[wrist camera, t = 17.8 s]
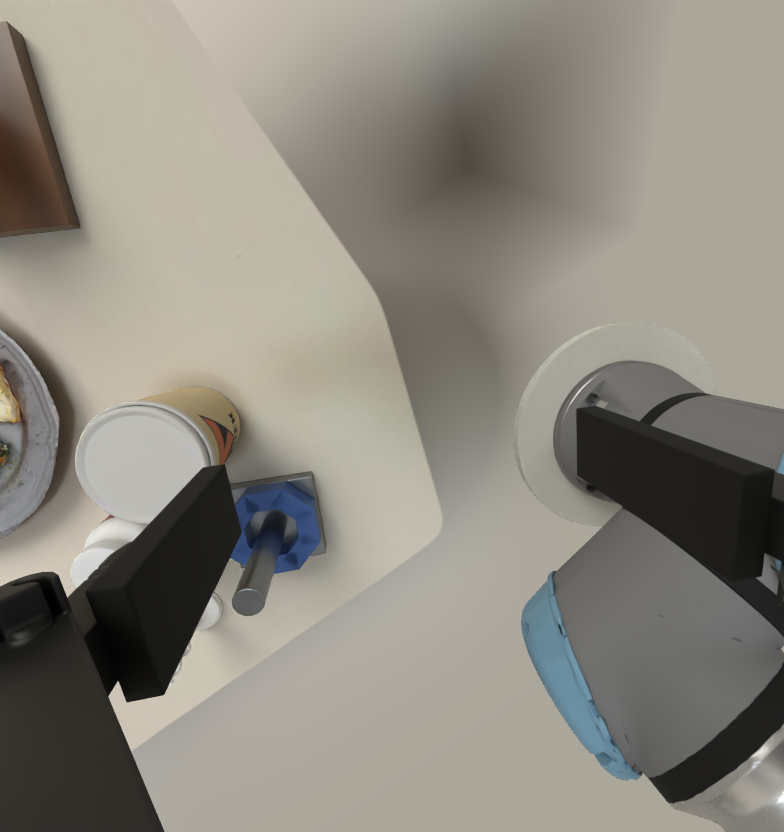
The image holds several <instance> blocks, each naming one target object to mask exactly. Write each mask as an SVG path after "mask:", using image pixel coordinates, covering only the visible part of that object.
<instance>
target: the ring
mask: <svg viewBox="0 0 784 832" xmlns="http://www.w3.org/2000/svg"><path fill="white" fill-rule="evenodd" d="M235 507H236V511H237V515H238V519H239V523H240V527H241V531H242V534H241V536H240V538H239V540H238V542H237V544H236V546H235V548H234V550H233V552H232V555H231V557H230V558H232V559H233V560H235V561H237V562H239V563H241V564H242V565H244V566H246V564H247V561H248V559H249V556H250V554H251V551H252V549H253V546H254V544H255V541H256V538H254V537H253V535H252V531H251V527H250V523H249V521H250V520H251V519H252V517H253V516H254V515H255V513H256V512H262V511H268V510H274V509H278V510H280V511H282V512H283V513H285V514H287V515H288V516H290V517H292V518H293V519H295V520H296V525H297V530H298V534H297V535H296V536H295V537H294V539H293V540H292V541H291V543H289V544H283V545H281V548H280V552H279V555H278V559H277V562H276V566H275V569H274V573H273V574H275V573H280V572H286V571H291V570H297V569H300V567H301V566H302V565H303V564H304V562H305V561H306V560H307V558H308V557H309V556H310V555H311V553H312V552H313V551H314V550H315V548H316V547H317V546H318V544H319V543H320V542H321V533H322V532H321V527H320V521H319V516H318V511H317V506H316V501H315V500H314V499H312V498H311V497H309V496H307V495H306V494H304V493H303V492H301V491H299V490H298V489H296V488H295V487H293V486H292V485H290V484H288V483H287V482H285V481H284V482H277V483H271V484H265V485H259V486H253V487H248V488H247V489H246V490H245V492H244V493H243V494H242V496H241V497H240V498H239V500H238V501H237V502H236V504H235Z"/></svg>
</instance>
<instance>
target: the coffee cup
mask: <svg viewBox="0 0 784 832" xmlns="http://www.w3.org/2000/svg"><path fill="white" fill-rule="evenodd" d="M239 433H240V420H239V416H238V413H237V411H236V409H235V407H234V406H233V404H232V403H231V402H230V401H229V400H228V399H227V398H226V397H225V396H223V395H222V394H220V393H218V392H216V391H214V390H212V389H208V388H204V387H189V388H183V389H179V390H175V391H171V392H167V393H163V394H159V395H155V396H152V397H148V398H144V399H141V400H137V401H130V402H124V403H120V404H117V405H114V406H112V407H110V408H108V409H106V410H104V411H102V412H101V413H99V414H98V415H97V416H95V417H94V418H93V419H92V420H91V421H90V422H89V423H88V424H87V426H86V427H85V429H84V430H83V432H82V434H81V436H80V439H79V442H78V445H77V448H76V452H75V468H76V473H77V477H78V479H79V482H80V484H81V486H82V488H83V490H84V491H85V493H86V494H87V496H88V497H89V498H90V499H91V500H92V501H93V502H94V503H95V504H96V505H97V506H98V507H100V508H101V509H102V510H104V511H105V512H107V513H108V514H110V515H112V516H114V517H117V518H119V519H122V520H125V521H129V522H133V523H141V524H149V523H150V522H151V521H152V520H153V519H154V518H155V517H156V516H157V515H158V514H159V513H160V512H161V511H162V510H163V509H164V508H165V507H166V506H167V505H168V503H169V502H170V501H171V500H172V499H173V498H174V497H175V496H176V495H177V494H178V493H179V492H180V491H181V490H182V489H183V488H184V487H185V486H186V484H187V483H188V482H189V481H190V480H191V479H192V478H193V477H194V476H195V475H196V474H197V473H198V472H199V471H200V470H201V469H202V468H203V467H209V466H215V465H221V464H224V463H225V462H226V460H227V458H228V457H229V455H230V453H231V452H232V450H233V448H234V446H235V445H236V443H237V440H238V437H239Z"/></svg>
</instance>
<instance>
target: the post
mask: <svg viewBox="0 0 784 832" xmlns="http://www.w3.org/2000/svg"><path fill="white" fill-rule="evenodd" d="M284 481H285V482H287V483H288V484H290V485H292V486H293V487H295V488H296V489H298V490H299V491H301V492H303V493H304V494H306V495H307V496H309V497H311V498H312V499H314V500H315V501H316V506H317V511H318V516H319V521H320V527H321V532H322V533H321V542H320V543H319V544H318V546H317V547H316V548H315V550H314V551H313V552H312V553H311V555H310V556H313V555H318V554H324V553H326V542H325V536H324V531H323V526H322V521H321V516H320V511H319V505H318V500H317V495H316V490H315V485H314V479H313V474H312V472H305V473H299V474H293V475H287V476H281V477H274V478H268V479H262V480H256V481H250V482H243V483H237V484H231V485H230V487H231V491H232V495H233V499H234V503H235V504H236V502H237V501H238V500H239V498H240V497H241V496H242V494H243V493H244V492H245V490H246V489H247V488H248V487H253V486H259V485H265V484H271V483H277V482H284ZM249 523H250V527H251V531H252V535H253V537H254V538H256V541H255V544H254V546H253V549H252V551H251V554H250V556H249V559H248V561H247V564H246V566H244V565H242V564H241V563H240V565H241V568H245V569H244V571H243V574H242V576H241V578H240V581H239V583H238V586H237V588H236V591H235V593H234V596H233V599H232V605H233V608H234V609H235V611H236V612H238V613H239V614H241V615H245V616H252V615H255V614H257V613H259V612H260V611H261V610H262V609H263V607H264V605H265V601H266V598H267V594H268V591H269V587H270V584H271V580H272V576H273V573H274V569H275V566H276V562H277V559H278V555H279V552H280V548H281V545H283V544H289V543H291V541H292V540H293V539H294V537H295V536H296V535H297V534H298V530H297V525H296V520H295V519H293V518H292V517H290V516H288V515H287V514H285V513H283V512H282V511H280V510H278V509H274V510H268V511H262V512H256V513H255V515H254V516H253V517H252V519H251V520H250V521H249Z"/></svg>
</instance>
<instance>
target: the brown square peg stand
mask: <svg viewBox="0 0 784 832" xmlns="http://www.w3.org/2000/svg"><path fill="white" fill-rule="evenodd" d="M77 228H80V225H79V222H78V219H77V215H76V212H75V209H74V205H73V202H72V199H71V195H70V192H69V189H68V186H67V182H66V179H65V176H64V172H63V169H62V166H61V162H60V159H59V156H58V152H57V149H56V146H55V142H54V139H53V136H52V132H51V129H50V126H49V122H48V119H47V116H46V112H45V109H44V106H43V102H42V99H41V96H40V92H39V89H38V86H37V82H36V79H35V76H34V73H33V69H32V66H31V63H30V59H29V56H28V53H27V49H26V46H25V43H24V39H23V36H22V34H21V33H19V32H18V31H17V30H16V29H15V28H14V27H13V26H11V25H10V24H9V23H8V22H0V237H5V236H14V235H23V234H32V233H41V232H50V231H59V230H68V229H77Z"/></svg>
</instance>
